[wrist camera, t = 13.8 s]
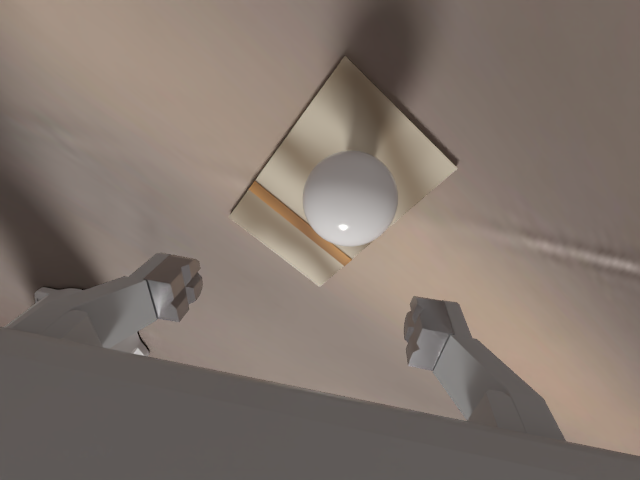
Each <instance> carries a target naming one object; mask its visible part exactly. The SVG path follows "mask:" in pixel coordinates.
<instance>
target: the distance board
mask: <svg viewBox="0 0 640 480" xmlns="http://www.w3.org/2000/svg"><path fill="white" fill-rule="evenodd" d="M347 150H355V151H362V152H365V153H368V154H371V155H373V156H374V157H376V158H378V159H379V160H380V161H382V162H383V163H384V164H385V165H386V166H387V167H388V169H389V170H390V172H391V173H392V175H393V177H394V179H395V182H396V185H397V189H398V206H397V211H396V214H395V216H394V219H393V221H392V223H391V224H390V226H391V225H392V224H394V223H395V222H396V221H397V220H398V219H399V218H401V217H402V216H403V215H404V214H405V213H406V212H408V211H409V210H410V209H411V208H412V207H413V206H415V205H416V204H417V203H418V202H419V201H420V200H421V199H423V198H424V197H425V196H426V195H427V194H428V193H430V192H431V191H432V190H433V189H434V188H435V187H437V186H438V185H439V184H440V183H441V182H442V181H444V180H445V179H446V178H447V177H448V176H449V175H451V174H452V173H453V172H454V171H455V170H456V169H458V168H457V167H456V166H455V165H454V164H453V163H452V162H451V161H450V160H449V159H448V158H447V157H446V156H445V155H444V154H443V153H442V152H441V151H440V150H439V149H438V148H437V147H436V146H435V145H434V144H433V143H432V142H431V141H430V140H429V139H428V138H427V137H426V136H425V135H424V134H423V133H422V132H421V131H420V130H419V129H418V128H417V127H416V126H415V125H414V124H413V123H412V122H411V121H410V120H409V119H408V118H407V117H406V116H405V115H404V114H403V113H402V112H401V111H400V110H399V109H398V108H397V107H396V106H395V105H394V104H393V103H392V102H391V101H390V100H389V99H388V98H387V97H386V96H385V95H384V94H383V93H382V92H381V91H380V90H379V89H378V88H377V87H376V86H375V85H374V84H373V83H372V82H371V81H370V80H369V79H368V78H367V77H366V76H365V75H364V74H363V73H362V72H361V71H360V70H359V69H358V68H357V67H356V66H355V65H354V64H353V63H352V62H351V61H350V60H349V59H348V58H347V57H346V56H344V58H343V59H342V60H341V62H340V63H339V65H338V66H337V67H336V69H335V70H334V72H333V73H332V74H331V76H330V77H329V78H328V80H327V81H326V83H325V84H324V85H323V87H322V88H321V90H320V91H319V92H318V94H317V95H316V97H315V98H314V99H313V101H312V102H311V103H310V105H309V106H308V108H307V109H306V110H305V112H304V113H303V115H302V116H301V117H300V119H299V120H298V122H297V123H296V124H295V126H294V127H293V129H292V130H291V131H290V133H289V134H288V135H287V137H286V138H285V140H284V141H283V142H282V144H281V145H280V147H279V148H278V149H277V151H276V152H275V154H274V155H273V156H272V158H271V159H270V160H269V162H268V163H267V165H266V166H265V167H264V169H263V170H262V172H261V173H260V174H259V176H258V177H257V179H256V180H255V181H254V182H253V184H252V185H251V187H250V188H249V190H248V191H247V192H246V194H245V195H244V197H243V198H242V199H241V201H240V202H239V204H238V205H237V206H236V208H235V209H234V210H233V212H232V213H231V215H230V216H229V218H230V219H231V220H233V221H234V222H235V223H237V224H238V225H239V226H241V227H242V228H243V229H244V230H246V231H247V232H248V233H250V234H251V235H252V236H254V237H255V238H256V239H258V240H259V241H260V242H262V243H263V244H264V245H265V246H267V247H268V248H269V249H271V250H272V251H273V252H275V253H276V254H277V255H279V256H280V257H281V258H282V259H284V260H285V261H286V262H288V263H289V264H290V265H292V266H293V267H294V268H296V269H297V270H298V271H299V272H301V273H302V274H303V275H305V276H306V277H307V278H309V279H310V280H311V281H313V282H314V283H315V284H316V285H318V286H319V287H320V286H321V285H323V284H324V283H325V282H326V281H327V280H328V279H330V278H331V277H332V276H333V275H334V274H335V273H337V272H338V271H339V270H340V269H341V268H342V267H343V266H345V265H346V264H348V263H349V262H350V261H351V260H352V259H353V258H354V257H355V256H356V255H357V254H359V253H360V252H361V251H362V250H363V249H364V248H366V247H367V246H368V245H369V244H370V243H371V242H373V241H374V240H373V241H371V242H369V243H367V244H364V245H360V246H354V247H345V246H339V245H335V244H333V243H330V242H328V241H326V240H325V239H323V238H322V237H320V236H319V235H318V234H317V233H316V232H315V231H314V230H313V229H312V227H311V226H310V224H309V223H308V221H307V219H306V216H305V213H304V209H303V202H302V197H303V189H304V185H305V182H306V180H307V178H308V176H309V174H310V172H311V171H312V170H313V168H314V167H315V166H316V165H317V164H318V163H319V162H320V161H321V160H323V159H324V158H326V157H327V156H329V155H331V154H334V153H337V152H341V151H347ZM390 226H389V227H390ZM389 227H388V228H389ZM388 228H387V229H388Z"/></svg>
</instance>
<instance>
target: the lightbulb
mask: <svg viewBox="0 0 640 480" xmlns="http://www.w3.org/2000/svg"><path fill="white" fill-rule="evenodd" d="M302 202H303V209H304V213H305V216H306V219H307V221H308V223H309V224H310V226H311V227H312V229H313V230H314V231H315V232H316V233H317V234H318V235H319V236H320V237H322V238H323V239H325V240H326V241H328V242H330V243H333V244H335V245H339V246H345V247H354V246H360V245H364V244H367V243H369V242H371V241H373V240H375V239H376V238H378V237H379V236H380V235H382V234H383V233H384V232H385V231H386V230H387V228H388V227H389V226H390V224H391V223H392V221H393V219H394V216H395V214H396V211H397V206H398V189H397V185H396V182H395V179H394V177H393V175H392V173H391V172H390V170H389V169H388V167H387V166H386V165H385V164H384V163H383V162H382V161H380V160H379V159H378V158H376V157H374V156H373V155H371V154H368V153H365V152H362V151H355V150H347V151H341V152H337V153H334V154H331V155H329V156H327V157H326V158H324V159H323V160H321V161H320V162H319V163H318V164H317V165H316V166H315V167H314V168H313V170H312V171H311V172H310V174H309V176H308V178H307V180H306V182H305V185H304V189H303V197H302Z"/></svg>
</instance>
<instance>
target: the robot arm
mask: <svg viewBox="0 0 640 480" xmlns="http://www.w3.org/2000/svg"><path fill="white" fill-rule="evenodd" d="M199 270H200V263H199V261H198V260H197V259H193V258H187V257H182V256H177V255H171V254H166V253H156V254H155V255H154V256H153V257H152V258H150V259H149V260H148V261H147V262H146V263H144V264H143V265H142V266H141V267H140V268H138V269H137V270H136V271H135V272H134V273H132V274H131V275H130V276H129V277H126V276H124V277H121V278H118V279H115V280H112V281H109V282H106V283H103V284H100V285H97V286H95V287H92V288H89V289H86V290H81V289H74V288H68V289H61V290H55V289H51V288H46V287H42V288H40V289H39V290H37V291H36V292H35V304H34V305H33V306H31V307H30V308H29V309H27V310H26V311H25V312H23V313H22V314H21V315H19V316H18V317H17V318H15V319H14V320H13V321H11V322H10V323H9V324H7V325H6V326H5V327H0V480H640V456H636V455H631V454H626V453H621V452H616V451H611V450H606V449H601V448H596V447H591V446H587V445H582V444H577V443H572V442H567V441H566V440H565V438H564V436H563V435H562V433H561V431H560V429H559V427H558V425H557V423H556V421H555V419H554V417H553V416H552V414H551V412H550V410H549V408H548V406H547V404H546V402H545V400H544V399H543V398H542V397H541V396H540V395H539V394H538V393H537V392H535V391H534V390H533V389H532V388H531V387H530V386H529V385H528V384H526V383H525V382H524V381H523V380H522V379H521V378H520V377H519V376H518V375H516V374H515V373H514V372H513V371H512V370H511V369H510V368H509V367H507V366H506V365H505V364H504V363H503V362H502V361H501V360H500V359H499V358H497V357H496V356H495V355H494V354H493V353H492V352H491V351H490V350H488V349H487V348H486V347H485V346H484V345H483V344H482V343H481V342H480V341H478V340H477V339H474V338H472V336H471V333H470V331H469V328H468V326H467V323H466V321H465V318H464V316H463V313H462V310H461V308H460V305H459V304H458V303H457V302H450V301H443V300H442V301H441V300H435V299H429V298H423V297H417V296H414V297H413V298H412V300H411V303H410V307H411V311H410V312H408V313H407V315H406V318H405V323H404V339H405V340H406V341H407V342H408V345H407V347H406V355H407V362H408V366H412V367H417V368H421V369H426V370H431V371H433V373H434V375H435V376H436V377H437V379H438V380H439V382H440V383H441V384H442V386H443V387H444V389H445V390H446V392H447V393H448V394H449V396H450V397H451V399H452V400H453V401H454V403H455V404H456V406H457V407H458V409H459V410H460V411H461V413H462V414H463V416H464V417H465V418H466V420H467V421H463V420H458V419H453V418H449V417H444V416H439V415H434V414H429V413H424V412H419V411H414V410H409V409H404V408H399V407H394V406H390V405H385V404H380V403H375V402H370V401H365V400H360V399H355V398H350V397H345V396H340V395H335V394H330V393H325V392H321V391H316V390H311V389H306V388H301V387H296V386H291V385H286V384H281V383H276V382H271V381H266V380H261V379H256V378H252V377H247V376H242V375H237V374H232V373H227V372H222V371H217V370H212V369H207V368H202V367H197V366H192V365H187V364H183V363H178V362H173V361H168V360H163V359H158V358H153V357H148V355H149V351H148V350H147V348H146V347H145V346H144V344H143V343H142V342H141V341H140V339H139V336H138V333H137V332H138V331H139V330H141V329H143V328H144V327H146V326H148V325H149V324H151V323H153V322H154V321H156V320H157V319H163V320H169V321H175V322H180V321H181V319H182V318H183V317H184V315H185V314H186V313H187V312H188V310H189V304H190V303H192V302H195V301H196V300H197V298H198V297H199V296H200V293H201V290H202V286H203V281H202V277H201V276H200V275H199V273H198V271H199Z"/></svg>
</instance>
